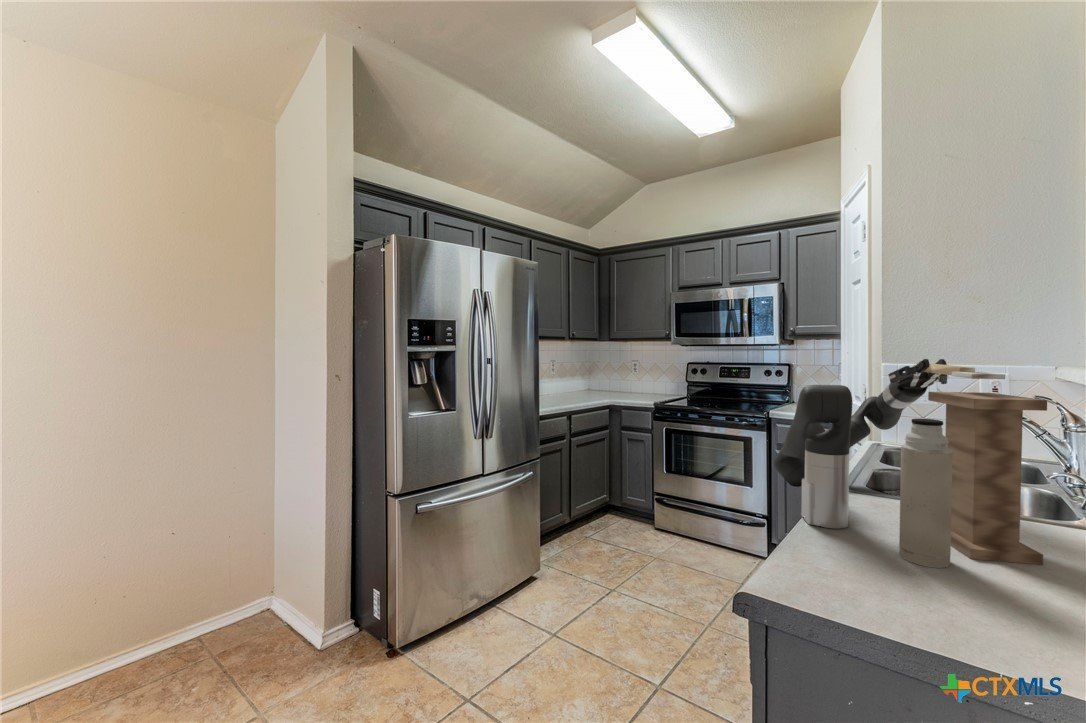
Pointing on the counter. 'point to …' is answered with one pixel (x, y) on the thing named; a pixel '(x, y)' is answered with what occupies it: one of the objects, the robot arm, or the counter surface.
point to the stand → (987, 473)
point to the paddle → (962, 372)
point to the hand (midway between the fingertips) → (935, 362)
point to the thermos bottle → (926, 495)
